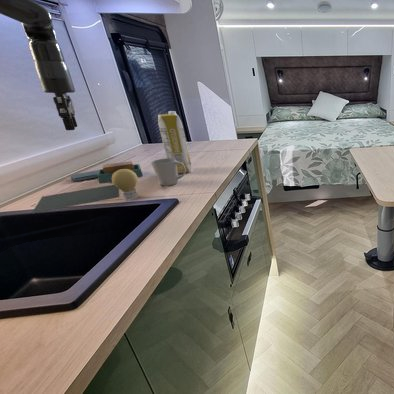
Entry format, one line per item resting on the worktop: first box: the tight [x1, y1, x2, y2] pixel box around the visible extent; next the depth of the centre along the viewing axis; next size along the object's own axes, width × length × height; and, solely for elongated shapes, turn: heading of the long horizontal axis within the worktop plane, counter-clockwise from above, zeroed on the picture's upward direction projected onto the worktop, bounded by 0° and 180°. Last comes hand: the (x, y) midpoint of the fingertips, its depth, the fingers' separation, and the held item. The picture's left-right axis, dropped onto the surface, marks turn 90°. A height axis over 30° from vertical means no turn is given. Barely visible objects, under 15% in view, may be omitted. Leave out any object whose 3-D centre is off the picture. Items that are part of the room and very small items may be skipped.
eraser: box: [102, 160, 134, 174], centre depth 112 cm, size 9×5×5 cm, turn 127°
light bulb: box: [111, 169, 139, 201], centre depth 90 cm, size 6×6×10 cm
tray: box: [96, 163, 143, 184], centre depth 112 cm, size 13×9×4 cm
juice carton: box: [157, 110, 192, 175], centre depth 116 cm, size 9×8×24 cm
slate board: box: [31, 184, 120, 214], centre depth 93 cm, size 20×16×1 cm
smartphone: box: [70, 169, 99, 183], centre depth 115 cm, size 8×2×15 cm
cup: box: [151, 157, 187, 187], centre depth 105 cm, size 8×10×8 cm
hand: (72, 128), depth 98 cm, fingers open, 8 cm apart
